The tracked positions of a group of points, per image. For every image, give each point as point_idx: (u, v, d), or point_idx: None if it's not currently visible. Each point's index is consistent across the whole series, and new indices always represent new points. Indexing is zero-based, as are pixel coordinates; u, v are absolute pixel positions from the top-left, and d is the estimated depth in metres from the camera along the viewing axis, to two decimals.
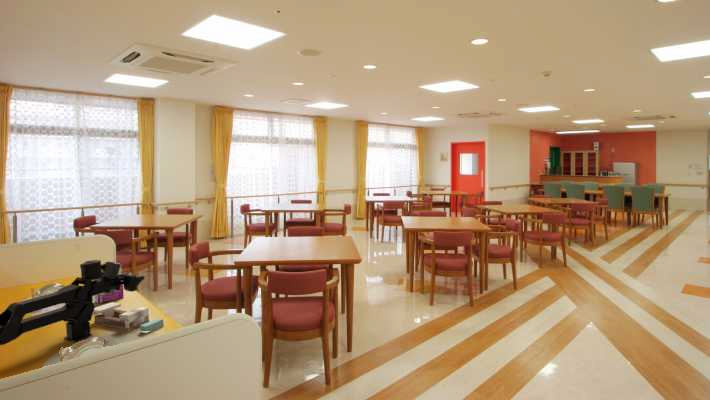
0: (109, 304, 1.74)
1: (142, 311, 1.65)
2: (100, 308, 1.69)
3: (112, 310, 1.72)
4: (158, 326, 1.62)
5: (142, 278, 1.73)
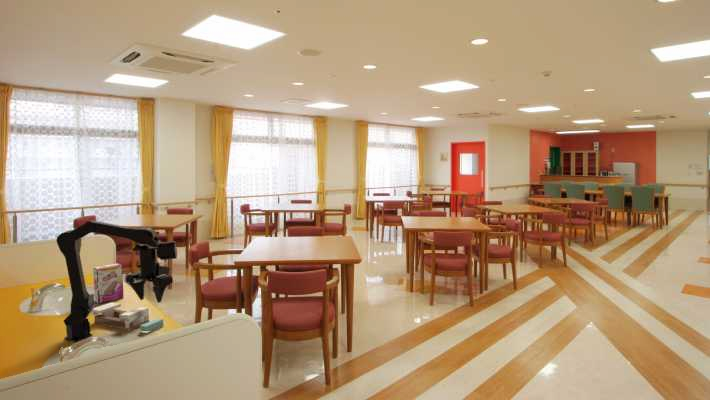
0: (109, 304, 1.74)
1: (142, 311, 1.65)
2: (100, 308, 1.69)
3: (112, 310, 1.72)
4: (158, 326, 1.62)
5: (160, 299, 1.58)
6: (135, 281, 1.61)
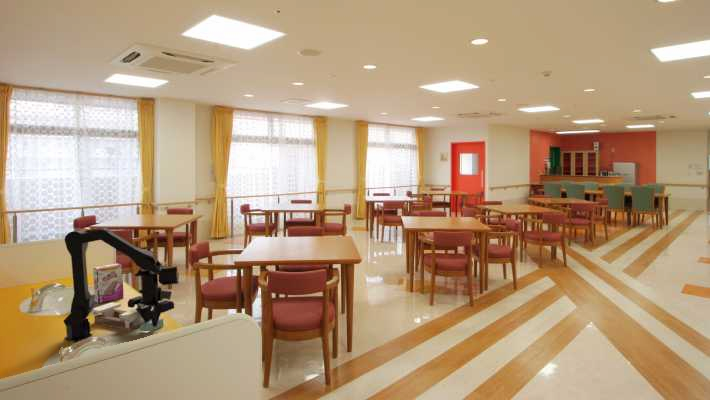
0: (109, 304, 1.74)
1: None
2: (100, 308, 1.69)
3: (112, 310, 1.72)
4: (158, 325, 1.62)
5: (155, 323, 1.60)
6: (142, 307, 1.60)
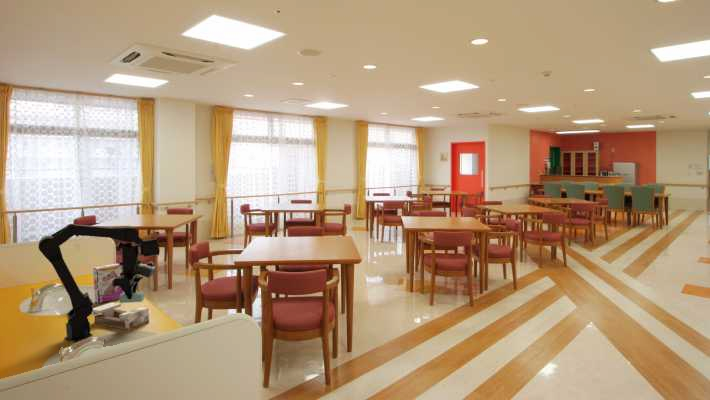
0: (109, 304, 1.74)
1: (142, 311, 1.65)
2: (100, 308, 1.69)
3: (112, 310, 1.72)
4: (134, 299, 1.63)
5: (128, 296, 1.62)
6: None
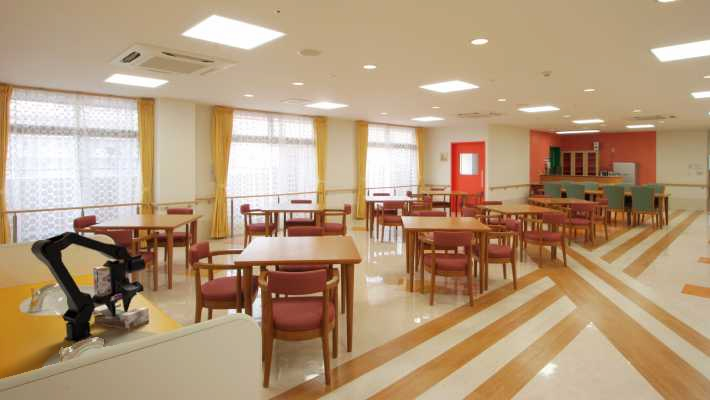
0: None
1: (142, 311, 1.65)
2: (100, 308, 1.69)
3: None
4: None
5: (112, 313, 1.65)
6: None
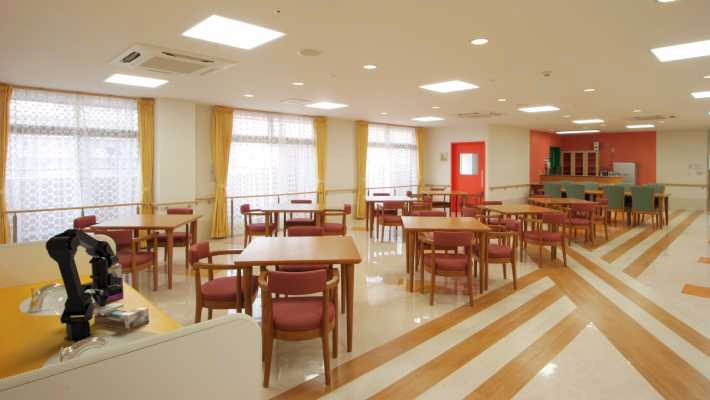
0: (112, 304, 1.73)
1: (142, 311, 1.65)
2: (103, 308, 1.68)
3: None
4: None
5: None
6: (95, 292, 1.71)
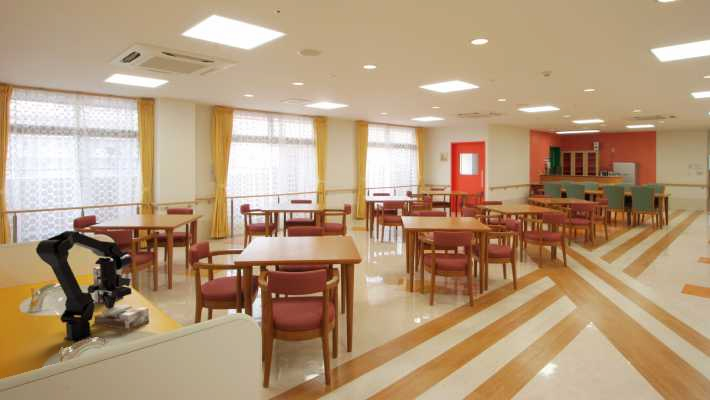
0: (120, 306, 1.71)
1: (142, 311, 1.65)
2: (111, 310, 1.66)
3: None
4: None
5: (111, 307, 1.70)
6: (104, 293, 1.69)
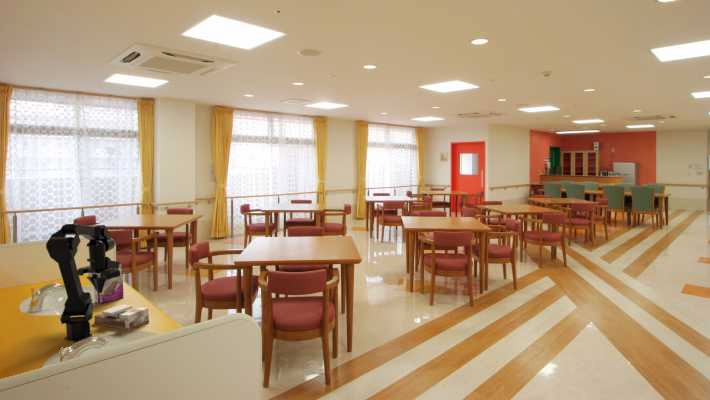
0: (120, 306, 1.71)
1: (142, 311, 1.65)
2: (111, 310, 1.66)
3: None
4: None
5: (100, 290, 1.72)
6: (93, 275, 1.70)
